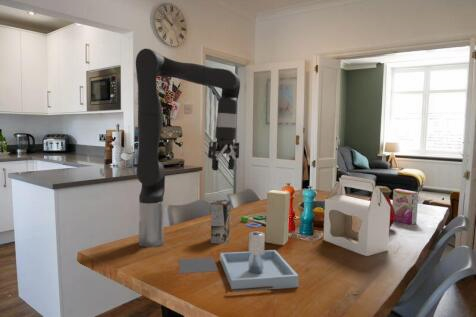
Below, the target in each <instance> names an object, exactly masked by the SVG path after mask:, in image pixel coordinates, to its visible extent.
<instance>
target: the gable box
mask: <svg viewBox="0 0 476 317" xmlns="http://www.w3.org/2000/svg"><path fill="white" fill-rule="evenodd" d="M338 180H339V181H335V185H334V186H333V188H332V189H331V191H330V192H329V193H328V195H327V197H326V198H325V199H324V217H323V219H324V220H323V241H325V242H327V243H331V244H332V245H336V246H339V248H340V247H341V248H343V249H346V250H349V251H352V252H354V253H356V254H359V255H362V256H365V257H368V256H372V255H376V254H380V253H383V252H388V250H389V236H390V229H389V223H390V206H389V204H388V202H387V200H386V199H385V197H384V195H383V194H382V192H381V189H379V188H377V187H376V186H377V184H376V180H375V179H372V178H367V177H359V176H353V175H346V174H342V175H341V176H340V177H338ZM345 187H347V188H353V189H358V190H361V191H362V190H363V191H368V192H370V191H372V196H371V195H370V197H371V201H369V200H368V199H363V198H360V197H354V196H350V195H346V190H345ZM352 216H354V217H357V218H359V219H360V220H361V225H360V228H359V230H358V231H355V230H353V227H352V226H353V217H352Z"/></svg>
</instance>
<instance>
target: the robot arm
mask: <svg viewBox="0 0 476 317" xmlns="http://www.w3.org/2000/svg"><path fill="white" fill-rule="evenodd" d="M135 71H136V78H137V80H136V81H137V127H138V128H137V131H138V132H137V133H138V134H137V137H138V138H137V139H138V140H137V141H138V153H137V154H138V156H137V157H138V158H137V165H136V177H137V180H138V181H139V183H141V190H140V192H139V195H138V196H139V198H138V200H139V202H138V204H139V205H138V207H139V208H138V210H139V212H138V213H139V220H138V246H139V247H142V248H144V247H145V248H155V247H156V248H157V247H159V246H162V245H163V244H164V195H165V189H166V186H165V184H166V181H165V180H166V171H165V167H164V165H163V164H162V163H161V162H160V161H159V145H160V141H161V137H162V136H161V135H162V132H163V124H164V123H163V119H164V118H163V117H164V116H163V115H164V114H163V106H162V103H161V99H160V97H159V94H158V90H157V88H158V87H157V77H166V78H167V77H168V78H175V79H179V80H183V81H186V82H189V83H193V84H197V85H202V86H205V87H215V88H219V89H221V93H220V94H221V95H220V98H219V99H218V102H217V114H216V115H217V116H216V121H215V134H214V137H215V140H216V141H213V140H211V141H209V143H208V153H207V154H208V155H207V158H208V159H211V160H212V162H211V169H212V171H218V170H219V159H220V157H221V156H222V155H226V156H228V163H227V165H228V166H227V168H228V170H231V171H232V170H234V168H235V162H236V161H235V160H236V159H239V157H240V142H235V141H234V140H236V134H237V119H238V118H237V114H238V113H237V111H238V99H239V95H240V91H241V90H240V89H241V80H240V77H239V76H238V75H237V74H236V73H235V72H234V71H233V70H230V69H226V68H217V67H211V66H207V65H203V64H199V63H192V62H181V61H176V60H173V59H171V58H168V57H166V56H164V55H162V54H161V53H159V52H157V51H155V50H153V49H150V48H142V49H141V50H140V51H139V52H138V53H137V55H136V58H135Z"/></svg>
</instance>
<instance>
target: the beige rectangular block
mask: <svg viewBox="0 0 476 317" xmlns="http://www.w3.org/2000/svg"><path fill="white" fill-rule="evenodd" d="M290 197H291V192H290V191H287V190H275V189H272V190H268V191H267V192H266V212H265V213H266V225H265V243H268V244H273V245H279V246H284V245H285V244H286V243H287V242H289V216H290V200H291V198H290Z"/></svg>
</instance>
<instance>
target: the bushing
mask: <svg viewBox="0 0 476 317" xmlns="http://www.w3.org/2000/svg"><path fill="white" fill-rule="evenodd" d="M265 237H266V232H263V231H250V232H249V233H248V251H249V264H248V271H249V272H251V273H255V274H259V273H263V272H264V251H265V245H266V244H265V243H266V242H265Z"/></svg>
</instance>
